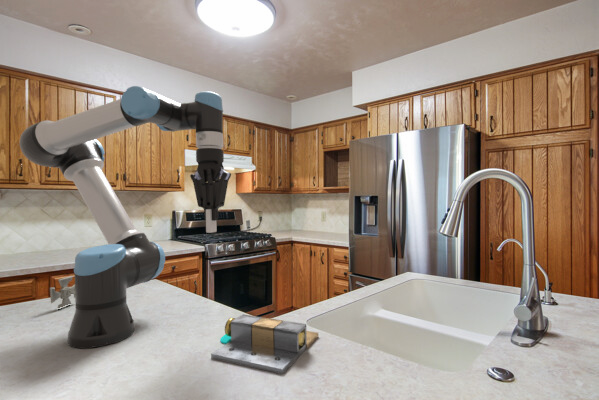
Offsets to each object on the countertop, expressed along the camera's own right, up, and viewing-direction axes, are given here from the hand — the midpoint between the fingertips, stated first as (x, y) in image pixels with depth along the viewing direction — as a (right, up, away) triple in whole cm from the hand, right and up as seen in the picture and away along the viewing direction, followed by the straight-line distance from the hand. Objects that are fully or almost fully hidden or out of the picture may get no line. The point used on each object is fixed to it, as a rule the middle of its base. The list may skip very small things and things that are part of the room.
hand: (211, 232), depth 96 cm
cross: (-54, -27, +18) cm, 63 cm away
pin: (+17, -25, -14) cm, 33 cm away
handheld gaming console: (+13, -27, -10) cm, 31 cm away
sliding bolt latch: (+18, -26, -15) cm, 35 cm away
